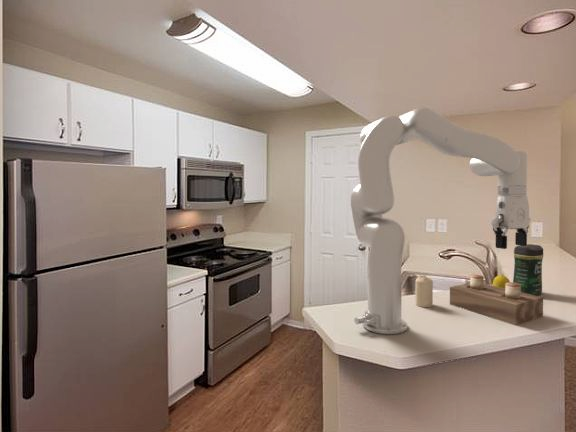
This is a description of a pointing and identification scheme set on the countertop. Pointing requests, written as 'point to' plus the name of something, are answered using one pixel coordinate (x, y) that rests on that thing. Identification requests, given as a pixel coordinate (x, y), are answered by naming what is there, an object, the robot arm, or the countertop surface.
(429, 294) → the candle
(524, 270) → the coffee jar
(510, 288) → the peg near
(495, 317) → the block
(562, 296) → the countertop surface
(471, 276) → the peg far
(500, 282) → the lemon
